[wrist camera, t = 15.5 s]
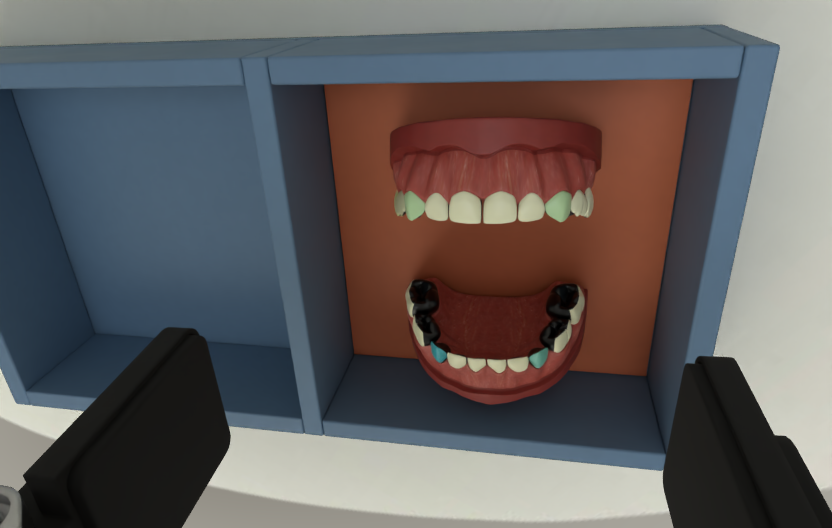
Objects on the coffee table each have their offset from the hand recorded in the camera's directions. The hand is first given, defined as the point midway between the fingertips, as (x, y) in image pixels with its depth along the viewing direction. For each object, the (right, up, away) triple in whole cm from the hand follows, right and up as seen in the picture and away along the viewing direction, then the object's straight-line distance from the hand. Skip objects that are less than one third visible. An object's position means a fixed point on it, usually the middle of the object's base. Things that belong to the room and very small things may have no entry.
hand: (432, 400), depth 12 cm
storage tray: (-3, +4, +10) cm, 11 cm away
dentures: (+2, -1, +8) cm, 9 cm away
